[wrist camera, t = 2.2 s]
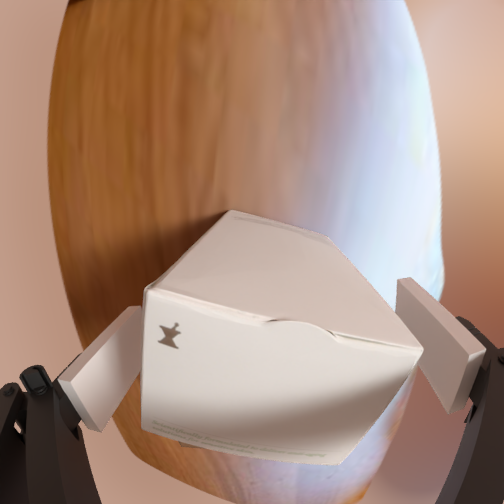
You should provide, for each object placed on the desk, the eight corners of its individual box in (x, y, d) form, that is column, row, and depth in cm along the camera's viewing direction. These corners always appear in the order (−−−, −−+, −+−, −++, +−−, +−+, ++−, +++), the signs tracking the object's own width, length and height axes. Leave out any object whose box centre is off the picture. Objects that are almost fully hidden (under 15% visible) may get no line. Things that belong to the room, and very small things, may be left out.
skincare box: (210, 280, 23) (128, 429, 8) (229, 202, 21) (129, 276, 6) (308, 306, 23) (337, 473, 8) (334, 232, 21) (434, 352, 6)
